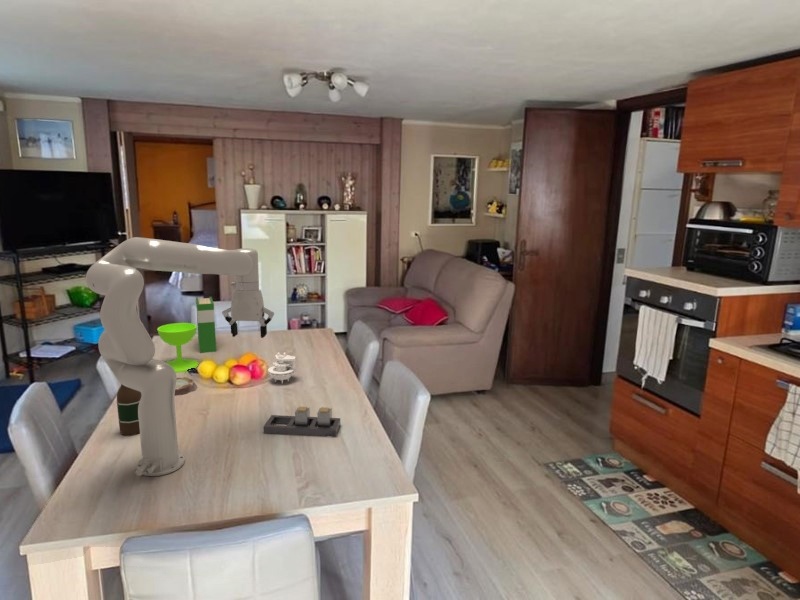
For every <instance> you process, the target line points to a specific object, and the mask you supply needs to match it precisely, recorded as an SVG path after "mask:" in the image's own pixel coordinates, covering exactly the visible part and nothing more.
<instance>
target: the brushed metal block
mask: <svg viewBox="0 0 800 600" xmlns="http://www.w3.org/2000/svg"><path fill="white" fill-rule="evenodd" d="M310 411H311V408H310V407H308V406H299V407H297V408H296V410H295V412H294V416H295V426H304V427H310V417H311V412H310Z"/></svg>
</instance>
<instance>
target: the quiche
mask: <svg viewBox="0 0 800 600" xmlns="http://www.w3.org/2000/svg"><path fill="white" fill-rule="evenodd" d="M197 389H198V385H197V383H196V382H195V381H194V380H193V379H192V378H190V377H187V376H185V377H177V380H176V388H175V397H176V396H177V397H178V396H184V395H187V394H189V393H193V392H195V391H197Z"/></svg>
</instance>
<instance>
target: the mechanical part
mask: <svg viewBox="0 0 800 600" xmlns="http://www.w3.org/2000/svg"><path fill="white" fill-rule="evenodd" d="M296 357H297V356H294V355H290V354H287V352H283V354H281V352H277V354H275V355H274V361H275V362H274V361H273V362H272V366H270V367H269V368H268V369H267V374H268V375H270V376H271V377H272V379H273V380H274V383H277V381H281V384H284V380H287V382H290V378H291V376H292V375H294V374H295V373H296V372H297V358H296Z"/></svg>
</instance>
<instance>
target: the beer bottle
mask: <svg viewBox="0 0 800 600" xmlns="http://www.w3.org/2000/svg"><path fill="white" fill-rule="evenodd" d="M120 384H121V383H120ZM140 399H141V392H139V391H137V390H134V389H131V388H128V387H126V386H124V385H122V384H121V385H120V387H119V388H118V390H117V392H116V406H117V416H118V417H117V418H118V426H119V432H120V433H121V435H122V436H135V435H138V434H139V435H140V428H139V418H138V405H139V402H140Z"/></svg>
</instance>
